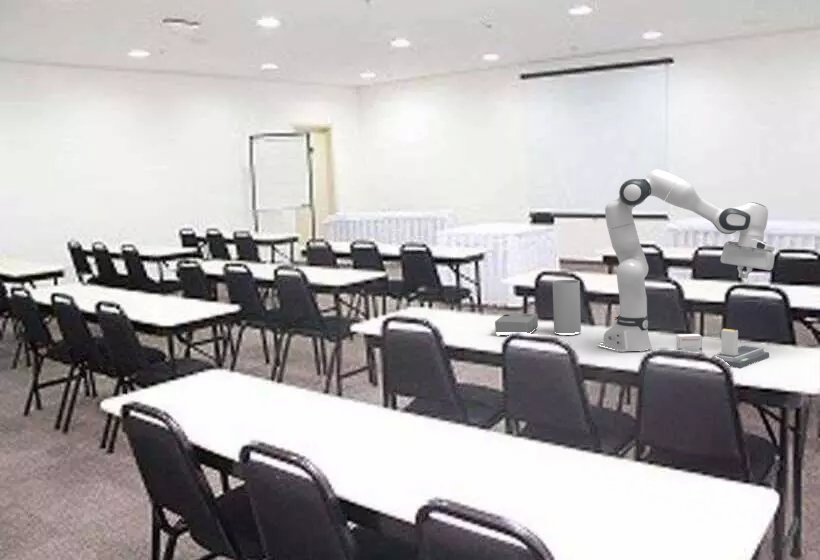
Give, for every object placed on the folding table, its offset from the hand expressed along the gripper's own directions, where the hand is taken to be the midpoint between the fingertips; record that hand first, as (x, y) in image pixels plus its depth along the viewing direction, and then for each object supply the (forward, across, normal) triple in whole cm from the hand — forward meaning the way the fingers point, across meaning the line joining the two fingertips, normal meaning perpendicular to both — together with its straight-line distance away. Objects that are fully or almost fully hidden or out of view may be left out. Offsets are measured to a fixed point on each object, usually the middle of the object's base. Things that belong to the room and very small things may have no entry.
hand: (742, 277), depth 295 cm
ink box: (+37, -2, -23) cm, 44 cm away
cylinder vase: (+40, -76, -4) cm, 86 cm away
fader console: (+32, +8, -6) cm, 33 cm away
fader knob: (+31, +8, -13) cm, 34 cm away
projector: (+45, -97, -15) cm, 108 cm away
